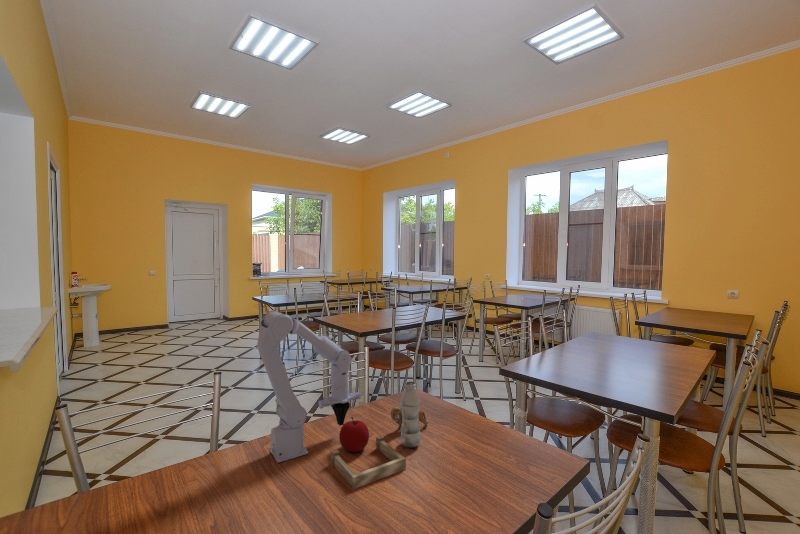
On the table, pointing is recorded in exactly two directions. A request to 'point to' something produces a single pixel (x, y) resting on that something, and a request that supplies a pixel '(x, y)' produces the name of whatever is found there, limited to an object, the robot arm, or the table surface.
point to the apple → (354, 435)
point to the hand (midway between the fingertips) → (340, 424)
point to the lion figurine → (397, 417)
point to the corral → (374, 473)
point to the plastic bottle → (410, 416)
